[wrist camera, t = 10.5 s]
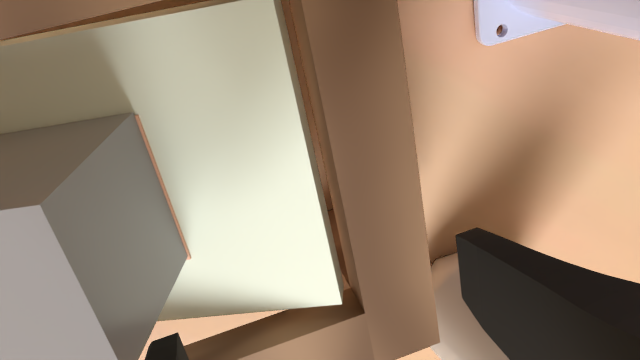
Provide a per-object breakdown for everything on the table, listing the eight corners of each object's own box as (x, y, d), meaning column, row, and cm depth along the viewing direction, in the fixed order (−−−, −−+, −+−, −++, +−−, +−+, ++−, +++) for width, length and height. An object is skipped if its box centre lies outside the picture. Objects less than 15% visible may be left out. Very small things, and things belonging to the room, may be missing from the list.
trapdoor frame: (299, -140, 19) (375, -172, 13) (370, 245, 26) (440, 342, 20) (-222, -30, 16) (-444, -3, 10) (20, 364, 23) (-23, 518, 17)
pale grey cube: (133, 111, 15) (39, 204, 11) (187, 256, 18) (128, 380, 13) (-24, 138, 16) (-169, 234, 12) (47, 272, 19) (-52, 395, 14)
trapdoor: (278, -13, 15) (271, -5, 14) (343, 284, 19) (342, 306, 18) (-52, 51, 16) (-78, 62, 15) (81, 310, 21) (67, 331, 20)
